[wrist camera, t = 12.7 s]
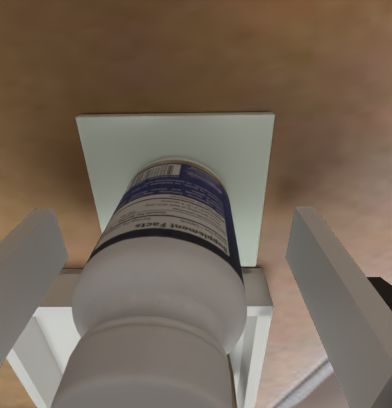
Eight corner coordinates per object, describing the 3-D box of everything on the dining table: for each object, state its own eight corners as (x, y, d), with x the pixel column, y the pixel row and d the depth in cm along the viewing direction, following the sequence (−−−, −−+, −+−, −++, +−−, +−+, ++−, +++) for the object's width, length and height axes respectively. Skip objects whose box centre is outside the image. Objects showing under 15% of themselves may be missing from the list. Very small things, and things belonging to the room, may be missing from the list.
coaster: (80, 114, 13) (75, 117, 12) (271, 112, 13) (274, 114, 12) (112, 260, 17) (109, 267, 17) (253, 259, 17) (255, 266, 16)
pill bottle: (205, 253, 16) (206, 486, 8) (117, 225, 15) (6, 451, 7) (247, 177, 13) (320, 403, 5) (144, 137, 12) (17, 328, 4)
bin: (7, 269, 18) (-26, 307, 15) (262, 268, 17) (273, 306, 15) (77, 413, 27) (64, 452, 25) (241, 414, 27) (245, 453, 24)
